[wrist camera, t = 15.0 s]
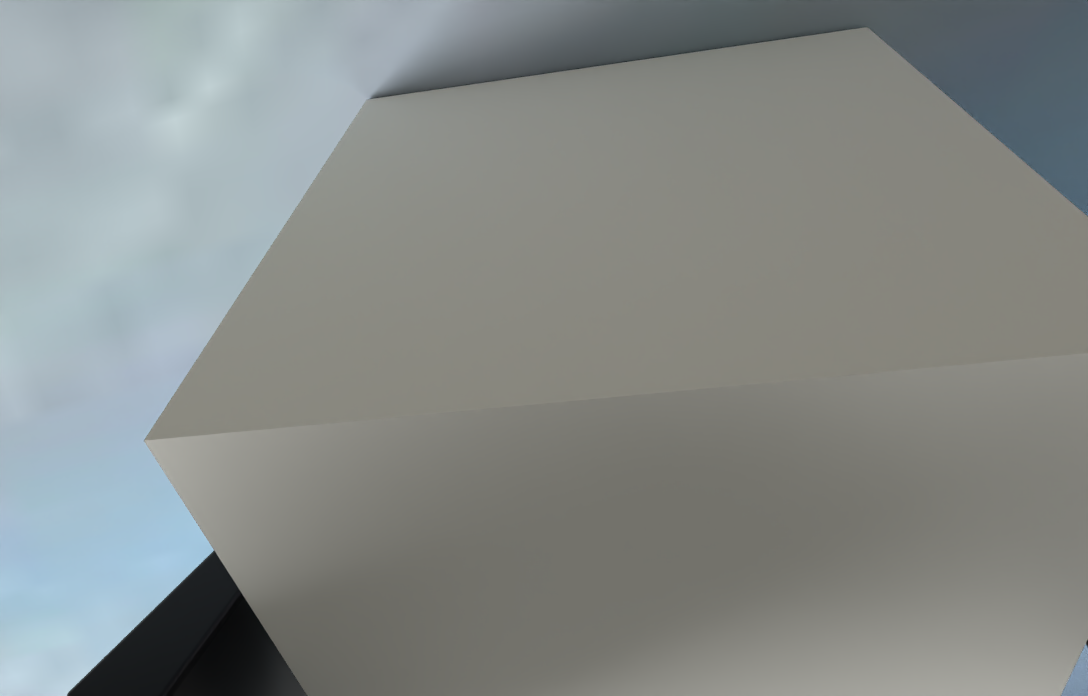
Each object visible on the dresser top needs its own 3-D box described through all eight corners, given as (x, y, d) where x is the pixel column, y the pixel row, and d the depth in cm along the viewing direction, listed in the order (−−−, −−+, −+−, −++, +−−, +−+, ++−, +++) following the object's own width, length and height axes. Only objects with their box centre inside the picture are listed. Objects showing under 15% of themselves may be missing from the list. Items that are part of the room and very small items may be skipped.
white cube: (830, 414, 16) (995, 830, 10) (468, 445, 17) (402, 845, 10) (867, 27, 11) (1230, 340, 5) (366, 100, 12) (143, 439, 6)
